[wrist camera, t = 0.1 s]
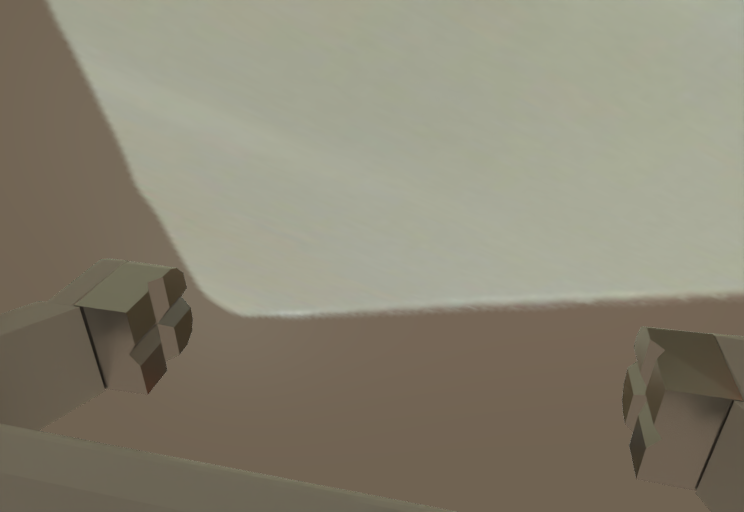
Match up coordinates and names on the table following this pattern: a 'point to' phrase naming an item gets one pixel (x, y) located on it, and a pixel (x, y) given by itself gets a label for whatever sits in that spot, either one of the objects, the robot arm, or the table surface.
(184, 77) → the table surface
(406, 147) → the table surface
